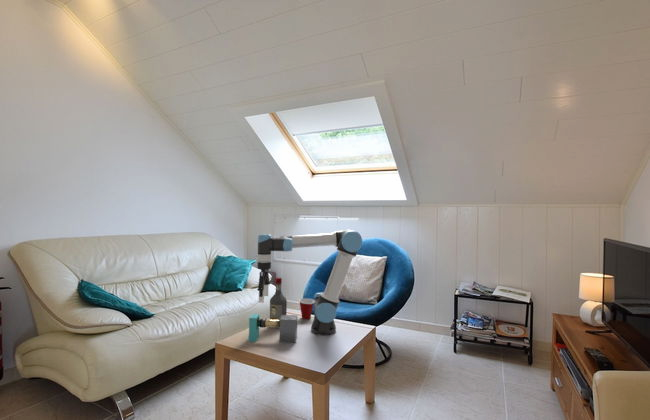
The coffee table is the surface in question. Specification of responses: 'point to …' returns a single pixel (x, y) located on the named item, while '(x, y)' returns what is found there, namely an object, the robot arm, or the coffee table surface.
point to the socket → (253, 328)
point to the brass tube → (267, 323)
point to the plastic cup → (306, 307)
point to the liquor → (278, 303)
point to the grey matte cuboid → (288, 328)
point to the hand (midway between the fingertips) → (263, 299)
